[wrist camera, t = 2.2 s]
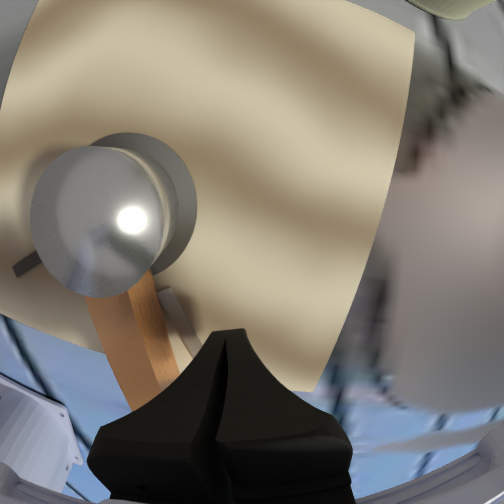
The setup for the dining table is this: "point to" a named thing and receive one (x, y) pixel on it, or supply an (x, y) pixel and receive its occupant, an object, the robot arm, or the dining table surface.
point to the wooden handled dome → (112, 254)
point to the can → (450, 7)
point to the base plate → (216, 159)
